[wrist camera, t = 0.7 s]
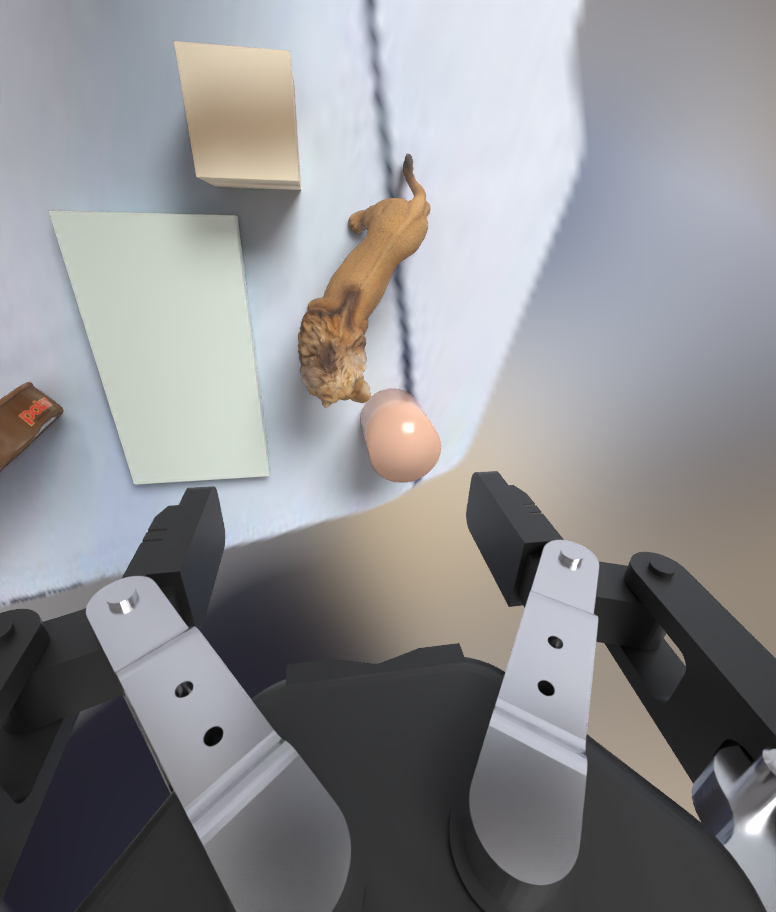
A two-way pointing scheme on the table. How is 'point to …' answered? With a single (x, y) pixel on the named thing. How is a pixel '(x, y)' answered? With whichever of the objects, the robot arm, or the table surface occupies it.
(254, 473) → the sage board
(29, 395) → the tin
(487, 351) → the table surface
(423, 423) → the peach rounded cylinder
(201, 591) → the robot arm
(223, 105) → the birch block
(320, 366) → the lion figurine
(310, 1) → the table surface
